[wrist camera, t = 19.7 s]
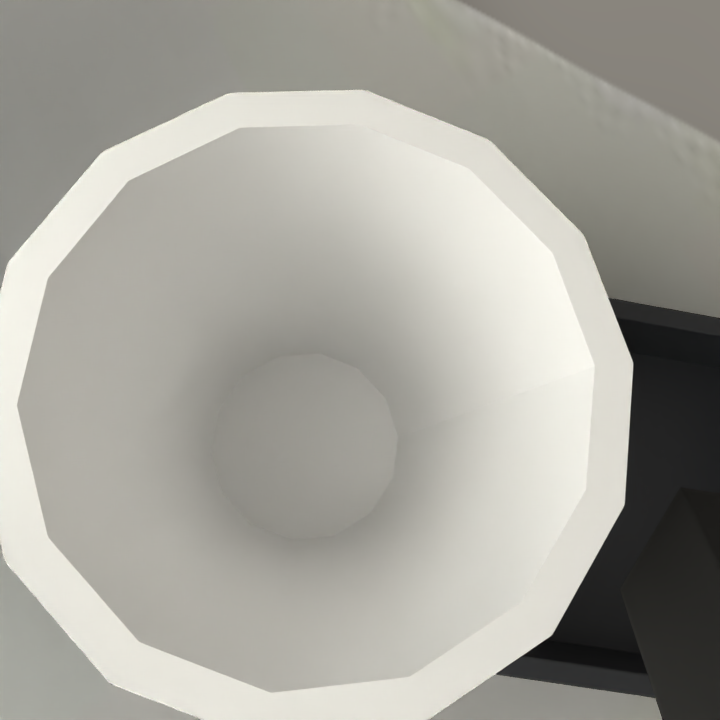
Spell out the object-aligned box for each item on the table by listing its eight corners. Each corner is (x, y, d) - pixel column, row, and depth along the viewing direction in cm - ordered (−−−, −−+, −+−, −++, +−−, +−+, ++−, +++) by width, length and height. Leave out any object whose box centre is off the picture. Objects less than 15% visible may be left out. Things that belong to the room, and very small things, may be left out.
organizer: (99, 589, 22) (56, 610, 18) (173, 259, 24) (150, 213, 20) (752, 686, 23) (845, 726, 19) (763, 364, 25) (849, 340, 21)
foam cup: (129, 349, 23) (-86, 164, 10) (393, 275, 24) (504, 29, 11) (206, 638, 21) (71, 857, 8) (483, 542, 22) (727, 607, 10)
